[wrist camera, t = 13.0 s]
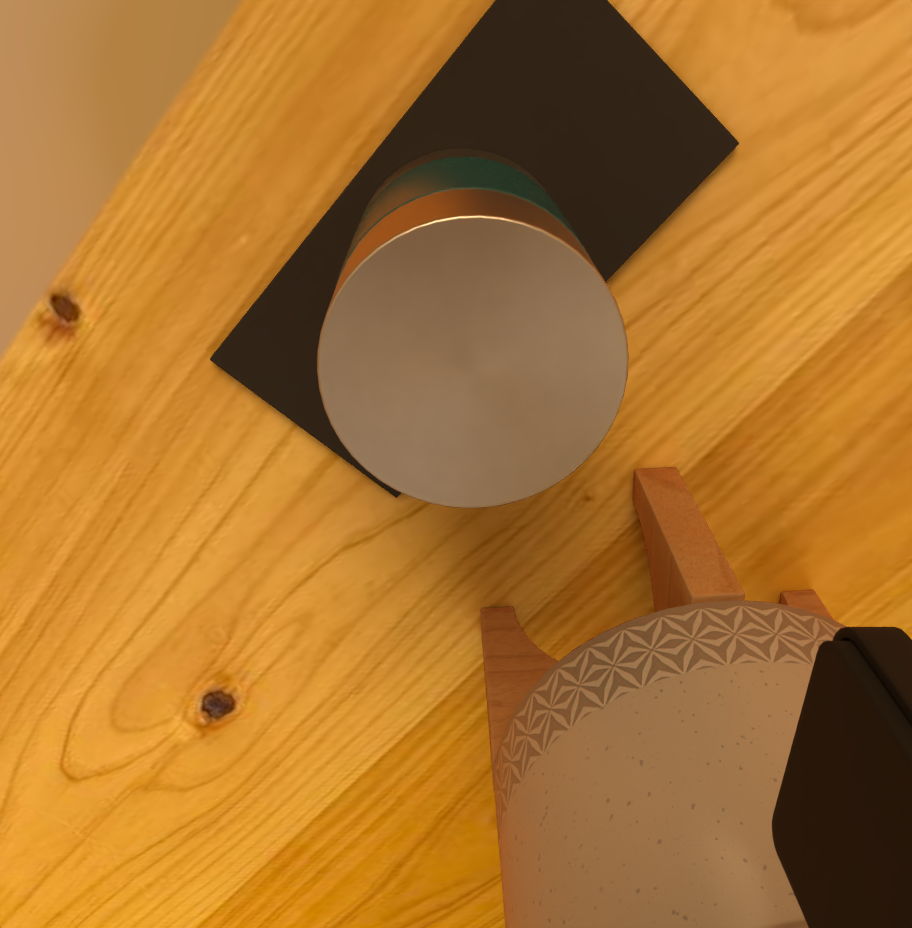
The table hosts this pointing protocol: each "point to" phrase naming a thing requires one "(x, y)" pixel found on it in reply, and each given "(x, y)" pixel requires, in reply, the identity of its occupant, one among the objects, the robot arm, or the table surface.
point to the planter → (652, 745)
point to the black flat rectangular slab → (521, 141)
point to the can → (470, 336)
